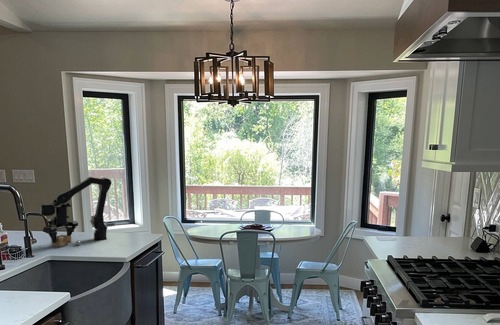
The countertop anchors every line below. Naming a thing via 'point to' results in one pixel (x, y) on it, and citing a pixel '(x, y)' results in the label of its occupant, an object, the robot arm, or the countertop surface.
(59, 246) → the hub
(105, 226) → the robot arm
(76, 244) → the grey metal cylinder
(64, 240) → the wooden square frame
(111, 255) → the countertop surface
